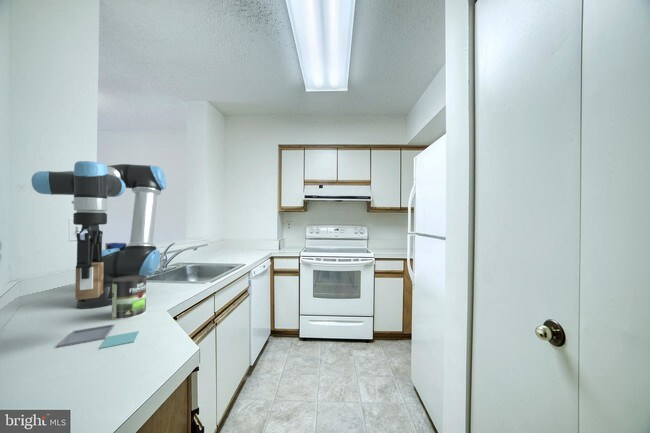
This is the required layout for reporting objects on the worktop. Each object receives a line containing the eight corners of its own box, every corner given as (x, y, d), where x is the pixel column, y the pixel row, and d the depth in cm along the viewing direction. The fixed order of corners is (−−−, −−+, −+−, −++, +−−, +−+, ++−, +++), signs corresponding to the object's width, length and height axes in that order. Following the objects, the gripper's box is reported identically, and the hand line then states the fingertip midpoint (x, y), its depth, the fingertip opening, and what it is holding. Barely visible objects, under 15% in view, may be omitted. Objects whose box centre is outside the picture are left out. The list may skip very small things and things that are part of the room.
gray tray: (73, 334, 76) (73, 330, 76) (114, 327, 81) (114, 324, 81) (57, 348, 67) (57, 344, 67) (104, 340, 72) (104, 336, 72)
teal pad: (107, 338, 73) (107, 336, 73) (138, 332, 77) (138, 331, 77) (99, 350, 66) (99, 347, 67) (133, 343, 70) (133, 341, 70)
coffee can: (152, 311, 96) (153, 275, 96) (126, 321, 85) (127, 281, 86) (131, 309, 98) (132, 274, 98) (103, 319, 87) (104, 280, 88)
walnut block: (82, 295, 76) (82, 263, 76) (103, 292, 78) (103, 262, 78) (75, 300, 71) (75, 266, 71) (97, 297, 74) (98, 264, 74)
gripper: (85, 212, 81) (84, 281, 81) (59, 210, 65) (58, 297, 65) (114, 212, 85) (113, 279, 84) (96, 211, 69) (95, 292, 69)
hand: (90, 286), depth 75 cm, fingers closed on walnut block, 5 cm apart
